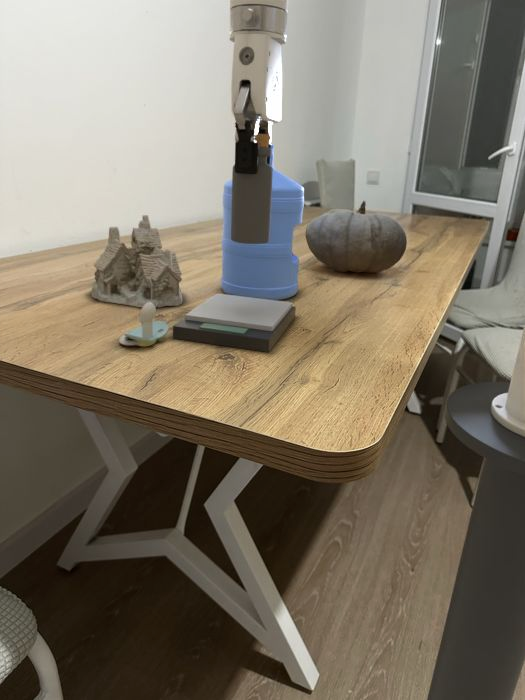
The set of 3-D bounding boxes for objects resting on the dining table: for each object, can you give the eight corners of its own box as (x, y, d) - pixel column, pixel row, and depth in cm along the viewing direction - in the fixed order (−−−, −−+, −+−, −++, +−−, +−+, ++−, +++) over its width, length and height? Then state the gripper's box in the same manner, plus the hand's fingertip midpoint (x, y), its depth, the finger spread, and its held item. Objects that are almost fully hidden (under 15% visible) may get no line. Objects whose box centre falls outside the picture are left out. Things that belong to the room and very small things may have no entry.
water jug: (245, 306, 96) (251, 143, 86) (207, 286, 108) (208, 142, 98) (312, 297, 104) (325, 147, 94) (270, 279, 116) (277, 145, 106)
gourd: (317, 269, 115) (328, 189, 112) (288, 264, 139) (296, 198, 136) (418, 281, 121) (431, 205, 118) (374, 274, 145) (383, 211, 142)
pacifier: (109, 346, 74) (144, 353, 72) (105, 304, 72) (141, 310, 70) (141, 332, 80) (173, 337, 78) (138, 292, 78) (171, 297, 76)
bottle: (224, 241, 77) (226, 131, 71) (240, 236, 82) (243, 133, 76) (261, 245, 75) (266, 133, 69) (274, 240, 80) (280, 135, 74)
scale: (294, 317, 91) (296, 302, 90) (268, 352, 75) (269, 334, 74) (214, 307, 94) (214, 292, 93) (172, 338, 78) (172, 320, 77)
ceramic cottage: (88, 287, 102) (86, 210, 95) (171, 286, 108) (174, 213, 102) (96, 316, 88) (94, 228, 82) (190, 313, 95) (194, 231, 89)
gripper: (269, 11, 60) (262, 176, 66) (299, 41, 75) (290, 172, 82) (208, 12, 61) (207, 173, 68) (249, 41, 77) (245, 170, 83)
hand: (252, 171), depth 75 cm, fingers closed on bottle, 5 cm apart
